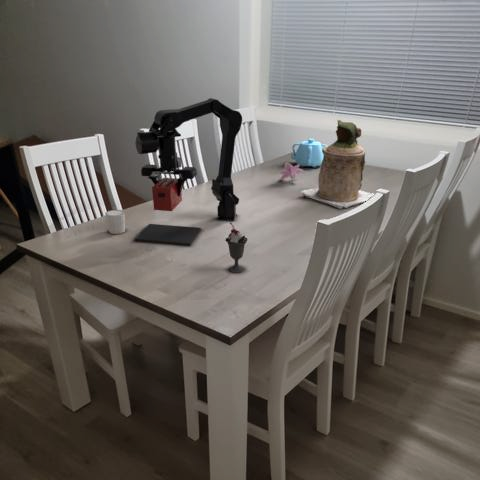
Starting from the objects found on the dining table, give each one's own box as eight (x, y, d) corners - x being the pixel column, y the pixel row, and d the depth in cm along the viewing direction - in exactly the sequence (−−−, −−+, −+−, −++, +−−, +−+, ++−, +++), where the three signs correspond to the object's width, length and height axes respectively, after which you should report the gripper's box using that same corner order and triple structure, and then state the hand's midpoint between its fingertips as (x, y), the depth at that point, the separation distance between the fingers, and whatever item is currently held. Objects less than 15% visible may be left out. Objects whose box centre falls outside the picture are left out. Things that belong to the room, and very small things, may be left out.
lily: (307, 183, 233) (303, 163, 232) (302, 179, 222) (298, 159, 221) (283, 189, 237) (280, 169, 236) (277, 186, 226) (274, 165, 225)
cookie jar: (342, 210, 197) (352, 128, 180) (298, 196, 213) (304, 119, 196) (377, 198, 211) (390, 121, 194) (334, 186, 226) (342, 113, 209)
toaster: (170, 212, 164) (169, 189, 160) (152, 210, 165) (150, 187, 161) (181, 200, 175) (180, 178, 171) (165, 199, 176) (163, 177, 172)
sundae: (224, 265, 152) (224, 220, 144) (245, 264, 152) (246, 219, 144) (226, 274, 146) (225, 228, 138) (247, 273, 147) (248, 227, 139)
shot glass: (130, 229, 178) (128, 210, 174) (120, 235, 172) (118, 216, 168) (114, 226, 180) (111, 208, 176) (104, 233, 174) (101, 214, 170)
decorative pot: (305, 170, 250) (307, 143, 242) (288, 163, 262) (289, 137, 254) (329, 167, 256) (332, 140, 249) (312, 160, 268) (314, 134, 261)
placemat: (201, 230, 177) (200, 227, 177) (190, 245, 165) (190, 243, 164) (149, 226, 180) (149, 223, 180) (135, 241, 168) (134, 238, 167)
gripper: (199, 147, 169) (201, 190, 177) (149, 144, 172) (153, 187, 180) (191, 154, 159) (193, 200, 168) (138, 151, 162) (142, 196, 171)
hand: (170, 195), depth 172 cm, fingers closed on toaster, 6 cm apart
